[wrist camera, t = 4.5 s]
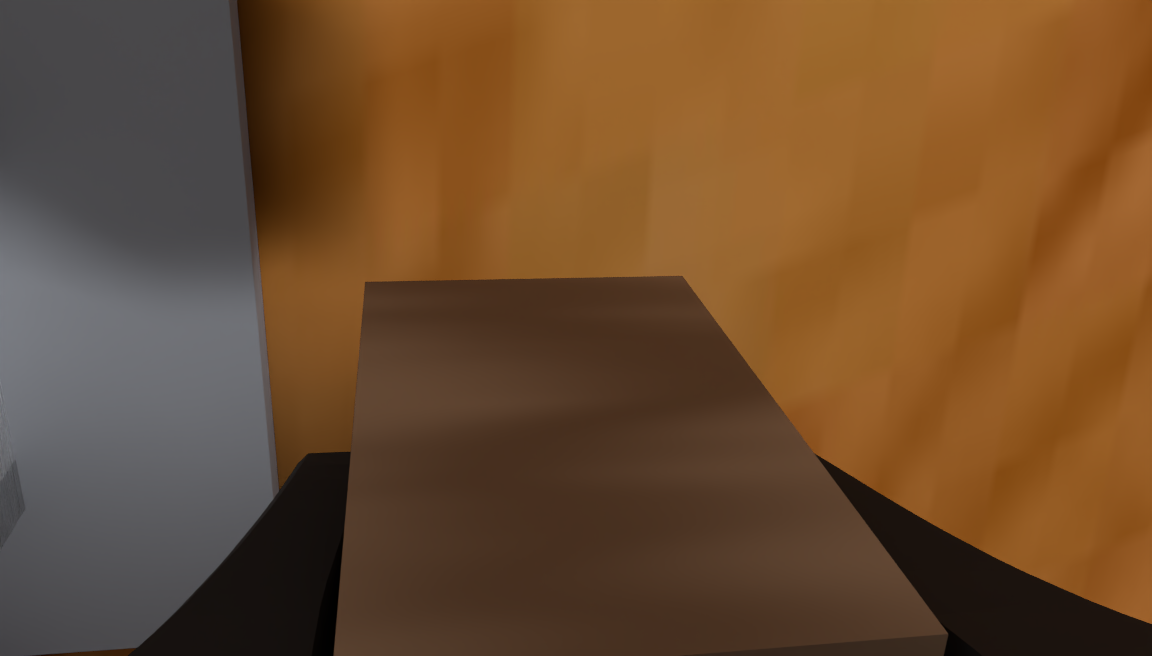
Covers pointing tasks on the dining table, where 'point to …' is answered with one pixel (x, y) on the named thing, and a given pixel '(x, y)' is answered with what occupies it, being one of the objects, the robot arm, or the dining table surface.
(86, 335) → the socket board
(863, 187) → the dining table surface
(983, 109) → the dining table surface
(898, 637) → the walnut peg
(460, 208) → the dining table surface
